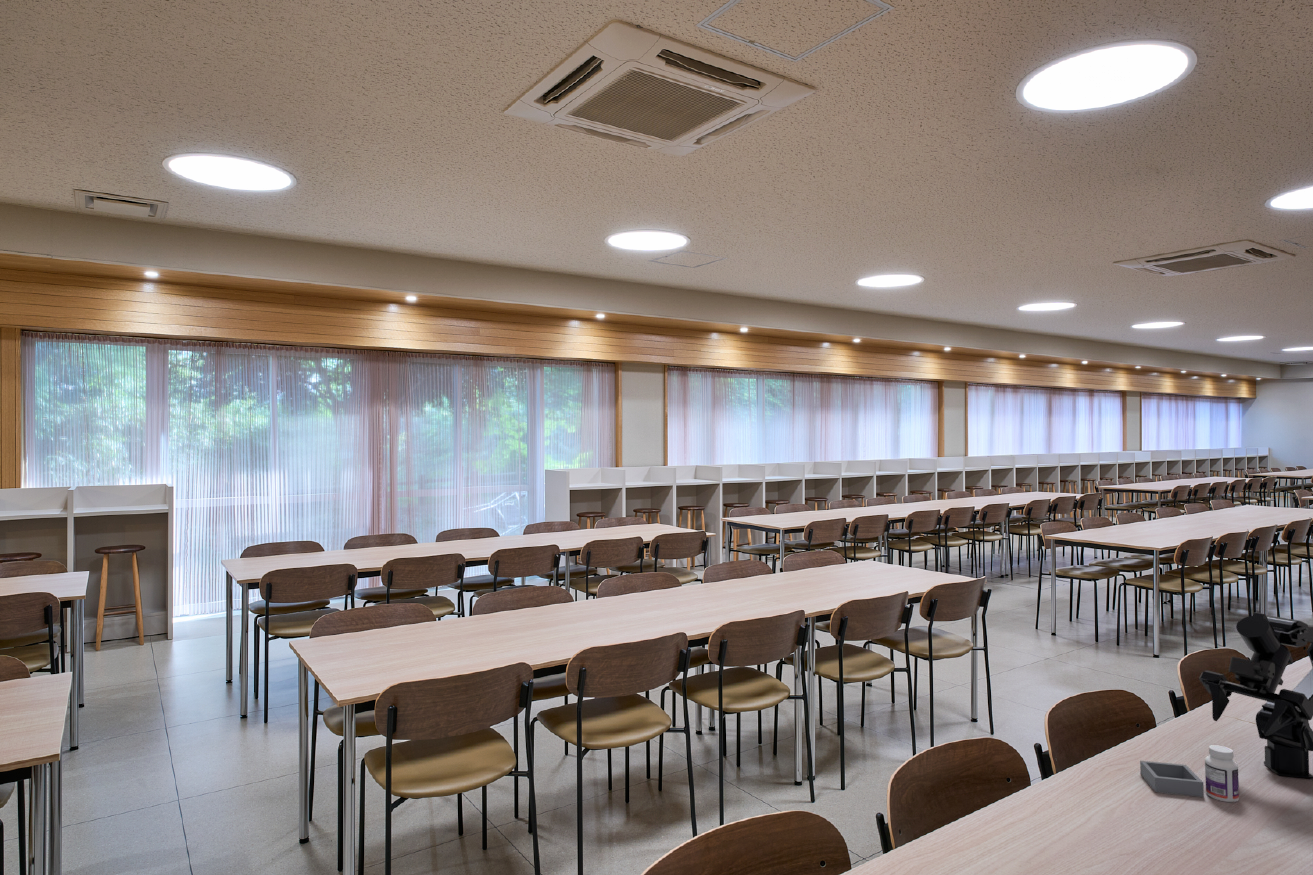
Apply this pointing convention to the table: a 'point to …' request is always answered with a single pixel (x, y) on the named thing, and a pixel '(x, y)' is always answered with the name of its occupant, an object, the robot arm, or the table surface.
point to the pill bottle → (1221, 774)
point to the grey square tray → (1172, 778)
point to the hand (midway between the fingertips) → (1239, 727)
